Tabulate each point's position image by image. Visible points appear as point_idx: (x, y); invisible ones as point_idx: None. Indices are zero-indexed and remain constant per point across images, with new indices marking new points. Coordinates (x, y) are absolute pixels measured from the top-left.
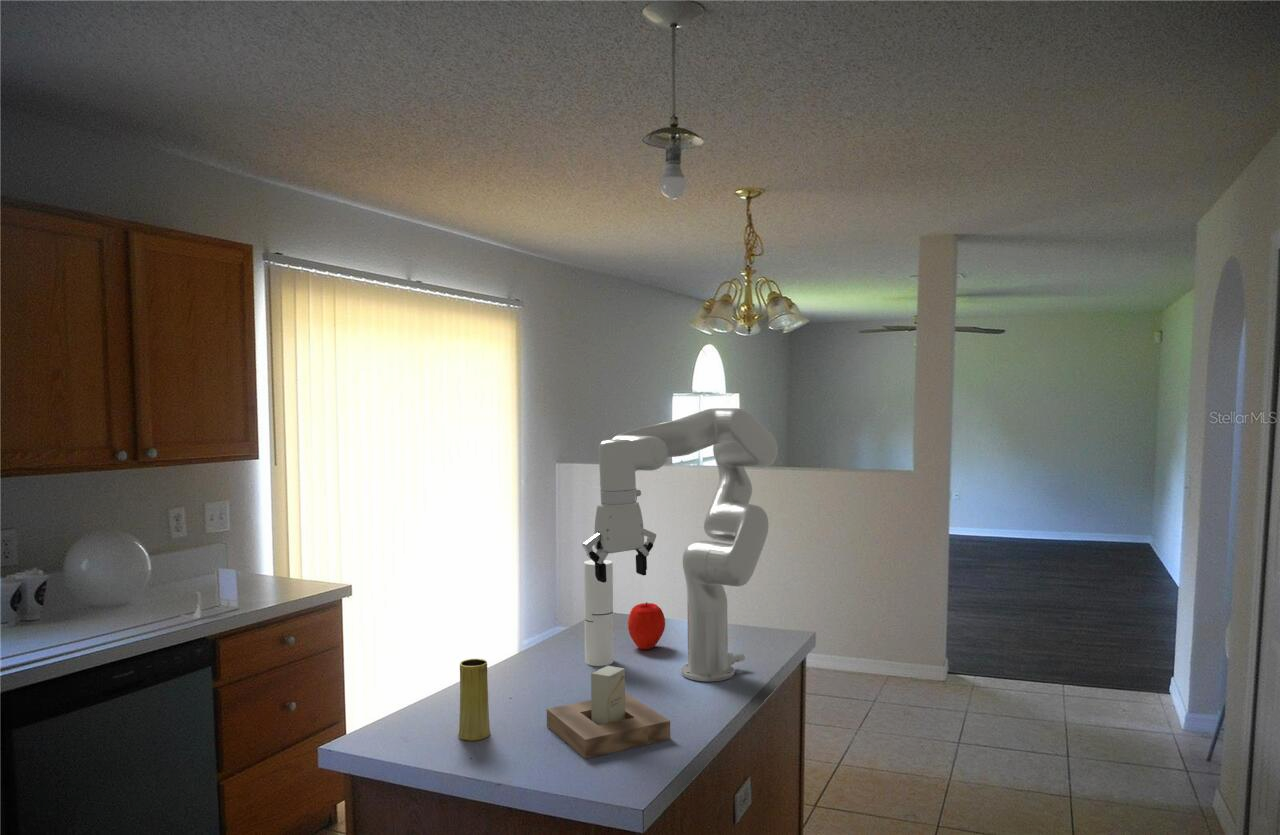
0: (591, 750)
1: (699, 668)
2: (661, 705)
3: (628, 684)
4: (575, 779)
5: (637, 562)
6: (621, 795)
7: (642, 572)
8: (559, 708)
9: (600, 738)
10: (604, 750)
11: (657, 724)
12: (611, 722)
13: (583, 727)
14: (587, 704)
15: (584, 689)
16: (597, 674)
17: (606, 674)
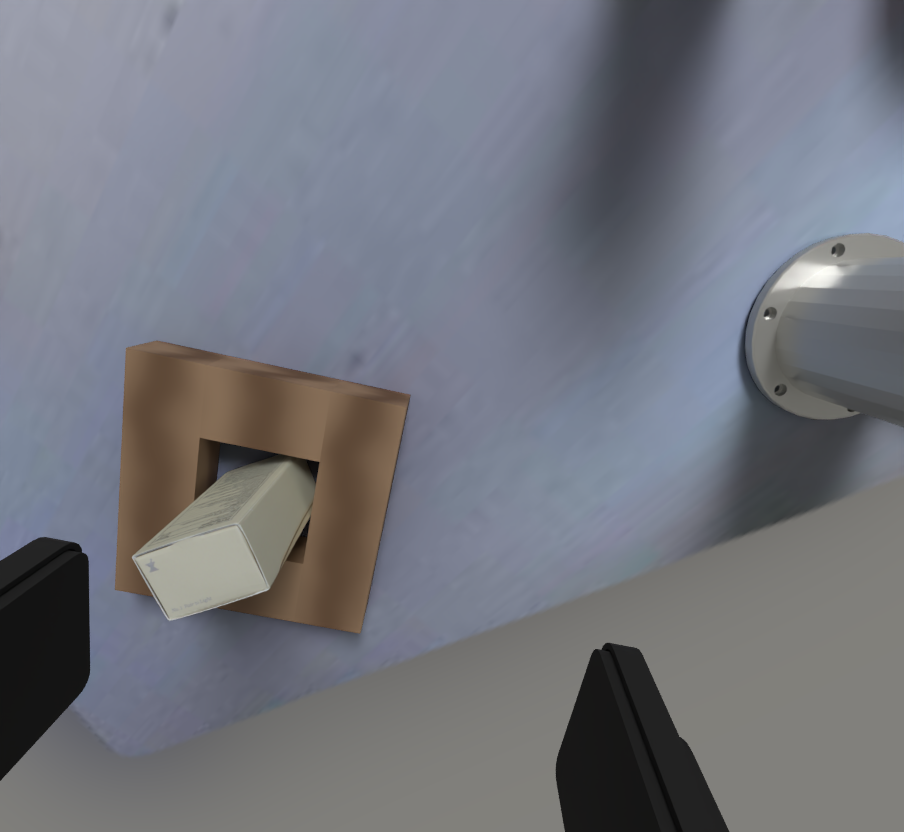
0: None
1: (790, 357)
2: (509, 435)
3: (573, 217)
4: None
5: (623, 813)
6: (122, 716)
7: (562, 786)
8: (162, 372)
9: None
10: None
11: (323, 625)
12: None
13: (150, 530)
14: (252, 403)
15: (428, 145)
16: (146, 579)
17: (172, 601)
